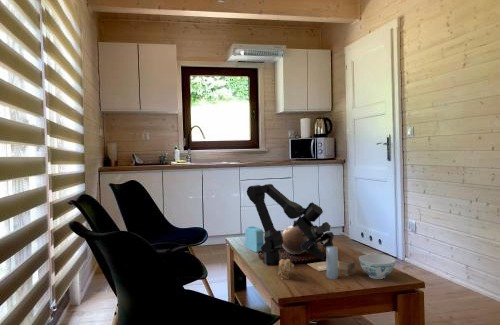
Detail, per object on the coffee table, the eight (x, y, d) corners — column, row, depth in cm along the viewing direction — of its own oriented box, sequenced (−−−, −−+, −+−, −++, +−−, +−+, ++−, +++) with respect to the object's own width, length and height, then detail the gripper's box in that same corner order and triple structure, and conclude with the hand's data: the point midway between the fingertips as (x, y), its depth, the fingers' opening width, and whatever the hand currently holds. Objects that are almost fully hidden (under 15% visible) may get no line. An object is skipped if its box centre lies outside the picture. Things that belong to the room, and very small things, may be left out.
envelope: (319, 271, 188) (319, 270, 188) (307, 264, 199) (307, 263, 199) (349, 267, 193) (349, 266, 193) (336, 260, 204) (336, 259, 204)
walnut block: (347, 275, 181) (347, 264, 181) (339, 273, 185) (338, 261, 185) (355, 273, 184) (355, 262, 184) (347, 270, 188) (346, 259, 188)
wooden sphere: (275, 252, 222) (275, 224, 221) (299, 249, 228) (299, 221, 228) (291, 259, 208) (290, 229, 207) (315, 255, 215) (315, 226, 214)
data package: (263, 251, 225) (263, 229, 224) (256, 252, 222) (256, 230, 222) (252, 247, 235) (251, 225, 234) (245, 248, 233) (244, 226, 232)
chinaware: (352, 273, 184) (351, 256, 183) (380, 269, 189) (380, 252, 188) (373, 284, 169) (373, 265, 169) (403, 279, 175) (403, 261, 174)
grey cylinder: (330, 279, 176) (329, 249, 176) (324, 276, 181) (324, 246, 180) (340, 278, 178) (339, 248, 177) (334, 275, 182) (333, 245, 182)
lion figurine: (295, 281, 176) (295, 259, 175) (283, 282, 174) (283, 261, 174) (284, 270, 190) (283, 251, 190) (272, 272, 189) (272, 252, 188)
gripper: (306, 220, 176) (329, 250, 169) (330, 213, 189) (352, 241, 182) (291, 236, 181) (313, 266, 174) (315, 229, 195) (337, 256, 188)
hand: (329, 256), depth 180 cm, fingers open, 9 cm apart
